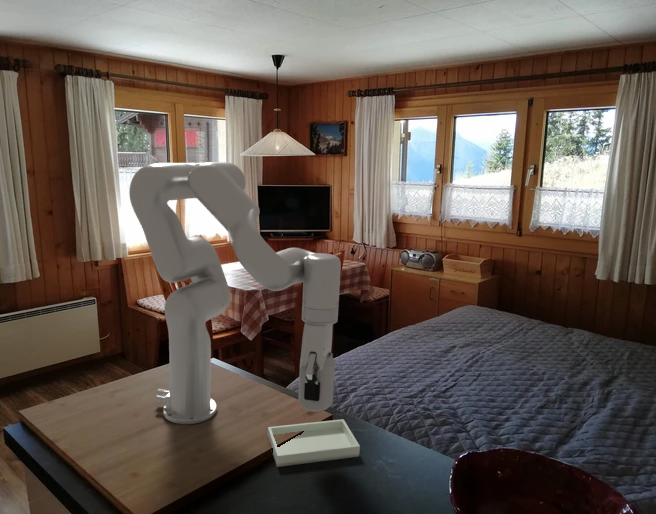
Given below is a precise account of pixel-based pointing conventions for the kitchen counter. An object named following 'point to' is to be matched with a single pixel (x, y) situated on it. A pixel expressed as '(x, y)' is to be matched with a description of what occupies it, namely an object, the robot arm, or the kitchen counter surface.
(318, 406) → the can
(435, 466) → the kitchen counter surface
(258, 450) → the kitchen counter surface
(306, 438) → the tray
